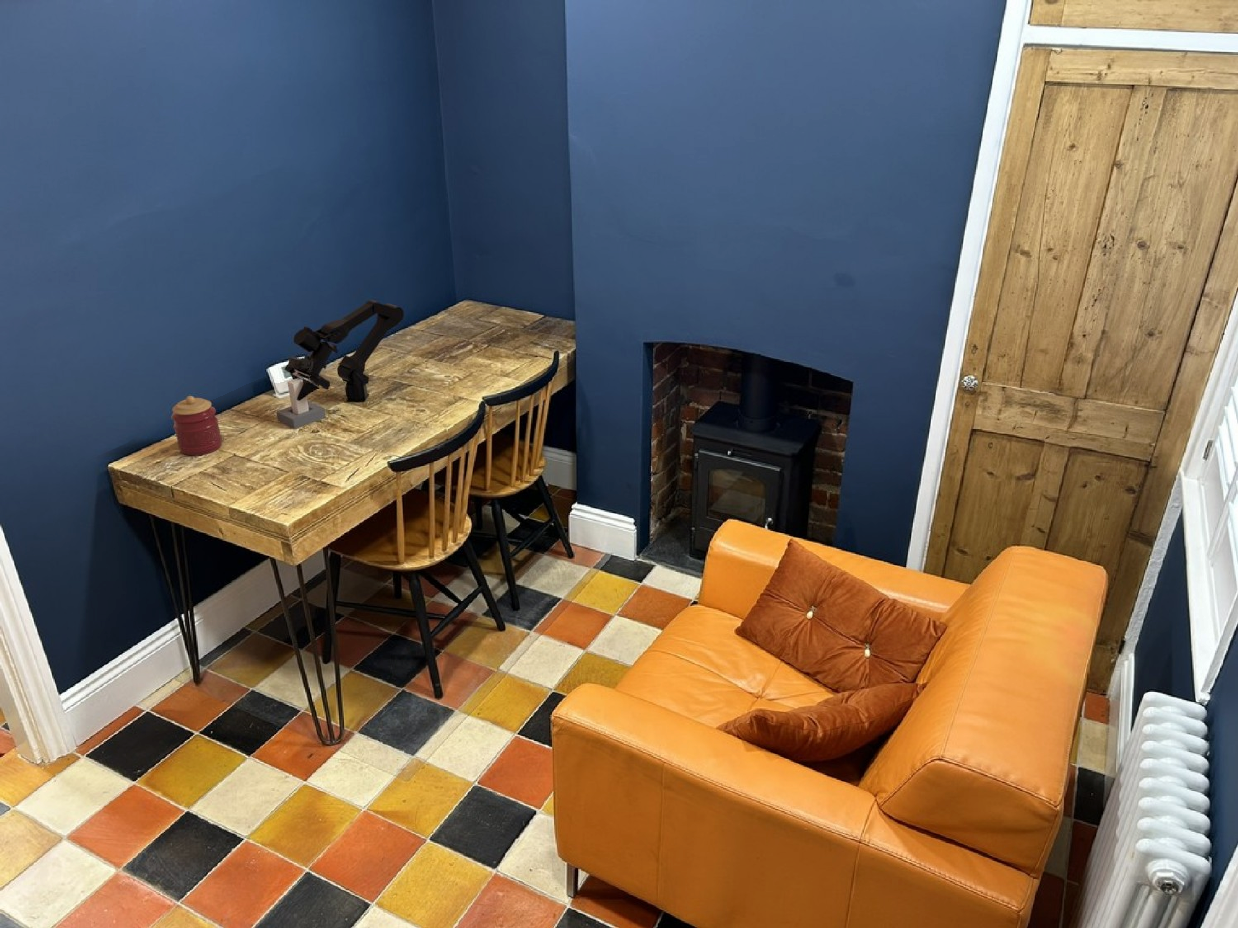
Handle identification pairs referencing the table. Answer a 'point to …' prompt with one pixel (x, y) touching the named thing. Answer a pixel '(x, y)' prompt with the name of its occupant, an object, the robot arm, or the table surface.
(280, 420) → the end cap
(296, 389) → the light grey peg
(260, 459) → the table surface
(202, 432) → the canister
